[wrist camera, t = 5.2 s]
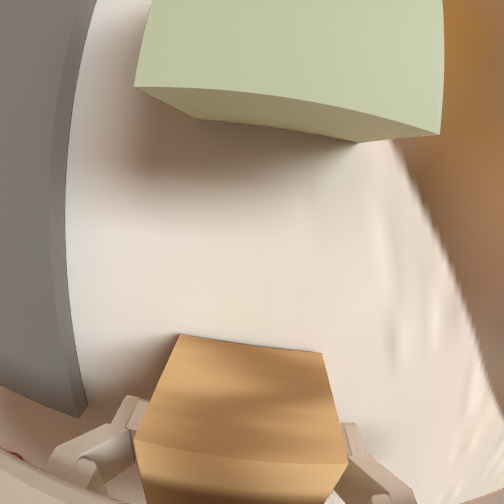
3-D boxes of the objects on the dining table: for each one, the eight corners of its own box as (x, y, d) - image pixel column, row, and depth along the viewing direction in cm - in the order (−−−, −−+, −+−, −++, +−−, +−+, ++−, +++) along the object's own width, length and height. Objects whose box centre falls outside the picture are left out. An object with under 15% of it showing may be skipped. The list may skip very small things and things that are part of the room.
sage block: (370, 7, 8) (432, -71, 3) (358, 143, 9) (439, 134, 4) (220, -16, 8) (191, -111, 3) (195, 119, 9) (133, 86, 4)
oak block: (321, 353, 11) (348, 463, 6) (292, 442, 12) (298, 538, 8) (180, 334, 11) (133, 438, 6) (178, 427, 12) (151, 520, 8)
